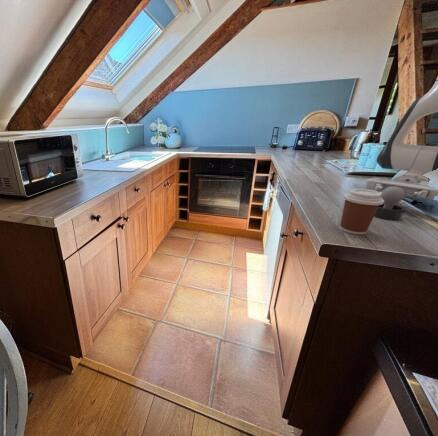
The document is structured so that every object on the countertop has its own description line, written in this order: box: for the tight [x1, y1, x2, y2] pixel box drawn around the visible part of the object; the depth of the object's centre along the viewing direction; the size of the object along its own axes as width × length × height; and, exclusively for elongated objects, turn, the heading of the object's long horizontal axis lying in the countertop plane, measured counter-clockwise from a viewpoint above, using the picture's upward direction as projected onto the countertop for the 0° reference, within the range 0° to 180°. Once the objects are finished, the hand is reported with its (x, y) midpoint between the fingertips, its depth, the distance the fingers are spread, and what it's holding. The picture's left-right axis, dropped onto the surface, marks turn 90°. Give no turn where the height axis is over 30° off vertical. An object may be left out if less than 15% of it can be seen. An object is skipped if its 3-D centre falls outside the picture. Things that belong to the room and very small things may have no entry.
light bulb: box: [380, 186, 405, 210], centre depth 82 cm, size 6×5×10 cm
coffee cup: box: [339, 188, 384, 235], centre depth 72 cm, size 9×9×12 cm
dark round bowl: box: [374, 203, 406, 221], centre depth 83 cm, size 8×8×4 cm
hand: (396, 192), depth 83 cm, fingers open, 8 cm apart
